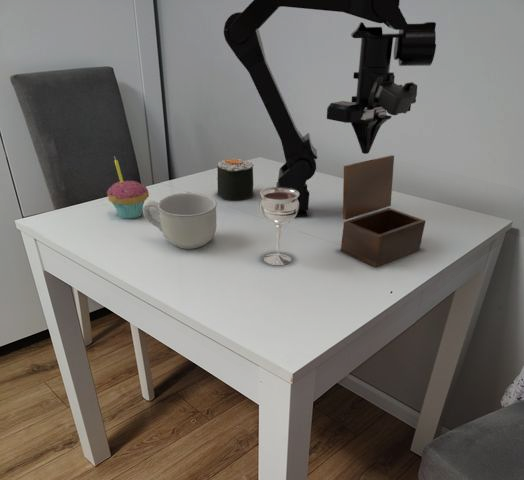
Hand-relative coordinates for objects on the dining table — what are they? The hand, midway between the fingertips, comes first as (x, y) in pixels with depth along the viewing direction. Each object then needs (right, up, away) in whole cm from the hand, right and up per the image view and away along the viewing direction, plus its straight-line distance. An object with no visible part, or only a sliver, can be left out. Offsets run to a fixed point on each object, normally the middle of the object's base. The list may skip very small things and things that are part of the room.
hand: (365, 153), depth 101 cm
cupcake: (-50, -11, +6) cm, 52 cm away
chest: (+1, -22, -8) cm, 23 cm away
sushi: (-28, -3, +17) cm, 33 cm away
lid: (-2, -11, -12) cm, 16 cm away
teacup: (-37, -20, -6) cm, 42 cm away
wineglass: (-19, -24, -12) cm, 33 cm away
